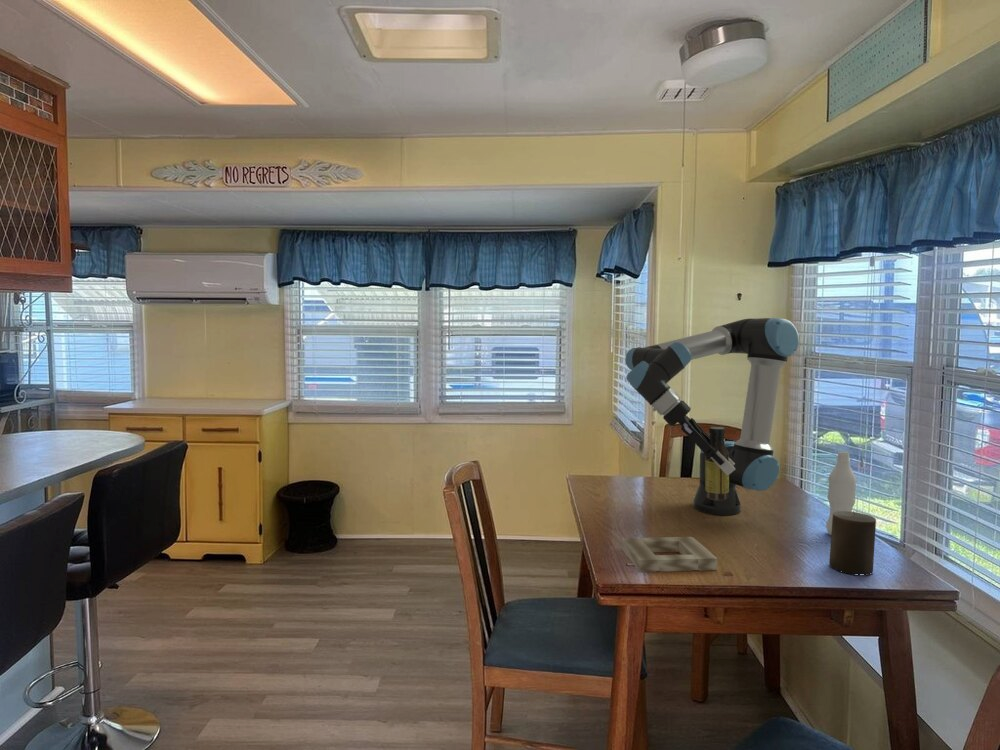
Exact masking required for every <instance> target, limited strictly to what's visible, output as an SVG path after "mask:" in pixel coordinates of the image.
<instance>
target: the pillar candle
mask: <svg viewBox="0 0 1000 750" xmlns="http://www.w3.org/2000/svg"><path fill="white" fill-rule="evenodd" d="M876 525H877V519H876V518H875V517H873V516H872V515H870V514H865V513H861V512H858V511H857V512H856V511H853V510H852V512H849V511H836V512H833V518H832V532H831V535H830V545H829V546H830V550H829V559H828V560H829V562H828V563H829V566H830V567H831V568H832V569H833V570H835V569H836V571H837V570H839V571H838V572H840V571H842V572H841V573H843V572H846V573H845V574H847V573H850V574H849V575H852V574H858V575H860V574H864V575H866V574H870V573H872V572H873V573H874V560H875V558H874V557H875V545H876V543H875V542H876V529H877V528H876V527H877V526H876ZM873 573H872V574H873ZM858 575H857V576H858ZM866 576H867V575H866Z"/></svg>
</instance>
